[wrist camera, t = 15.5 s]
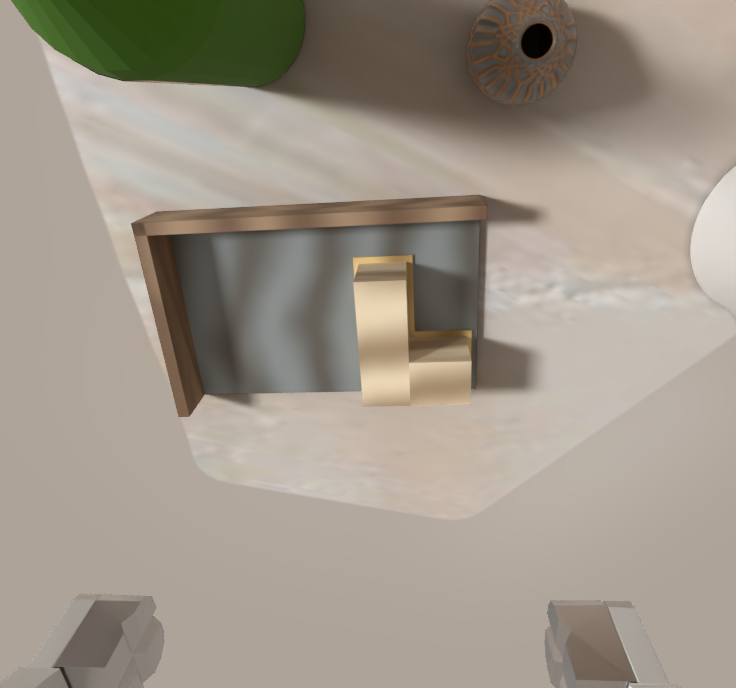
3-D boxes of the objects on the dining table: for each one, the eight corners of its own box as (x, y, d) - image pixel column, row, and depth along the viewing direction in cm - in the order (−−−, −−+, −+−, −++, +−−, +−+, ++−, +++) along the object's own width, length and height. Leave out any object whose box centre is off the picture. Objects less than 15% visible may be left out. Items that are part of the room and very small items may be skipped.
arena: (479, 194, 43) (487, 205, 39) (475, 385, 50) (481, 411, 46) (156, 211, 46) (131, 223, 41) (196, 391, 53) (178, 416, 49)
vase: (517, -29, 37) (548, -64, 29) (579, 50, 39) (624, 39, 31) (442, 53, 39) (451, 42, 31) (504, 124, 41) (527, 131, 33)
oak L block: (358, 263, 45) (353, 282, 41) (466, 259, 45) (473, 277, 40) (367, 378, 50) (363, 406, 45) (465, 375, 49) (470, 404, 45)
